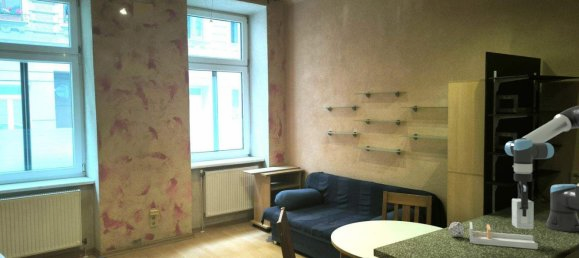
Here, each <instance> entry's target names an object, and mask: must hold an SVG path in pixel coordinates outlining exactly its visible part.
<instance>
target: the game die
mask: <svg viewBox="0 0 579 258" xmlns="http://www.w3.org/2000/svg"><path fill="white" fill-rule="evenodd" d="M449 222H450V224H449V227H448V228H447V229H446V231H448V232H449V234H451V238H452V239H453V238H456V237H458V238H459V237H461V238H462V239H463V238H464V236H463V235H464V233H465V231H466V230H467V229H468V228H467V227H464V225H463V224H462V221H461V220H459V221H452V220H450V221H449Z"/></svg>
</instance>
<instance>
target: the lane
mask: <svg viewBox="0 0 579 258" xmlns="http://www.w3.org/2000/svg"><path fill="white" fill-rule="evenodd" d="M473 227H474V226H473V221H469V243H470V244H477V245H487V246H499V247H511V248H522V249H531V250H532V249H533V250H538V249H539V247H538V246H539V245H538V242H535V241H534V235H530V234H518V233H517V234H516V233H503V232H502V233H501V232H492V231H491V239H487V231H478V230H477V231H476V230H473V229H474V228H473Z"/></svg>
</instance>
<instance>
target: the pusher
mask: <svg viewBox="0 0 579 258" xmlns="http://www.w3.org/2000/svg"><path fill="white" fill-rule="evenodd" d="M490 225H491V224H486V232H487V239H491V232H492V229H491V226H490Z"/></svg>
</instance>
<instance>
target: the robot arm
mask: <svg viewBox="0 0 579 258" xmlns="http://www.w3.org/2000/svg"><path fill="white" fill-rule="evenodd" d="M572 129H573V130H574V129H579V105H575V106H572V107H570V108H567V109H565V110H563V111H562V112H560V113H557V114H556V115H555V116H554V117H553V119H551V120H549V121H548V122H547V123H545V124H543V125H541V126H539V127H538V128H536V129H535V130H533V131H531V132H529V133H528V134H526V135H524V136H522V137H521V138H518V139H515V140H512V141H510V140H509V141H508V142H506V143H505V145H504V151H505V153H506V155H508V156H511V157H513V165H512V167H511V168H513V172H514V173H513V180H514V182H517V199H521V208H519V209H521V223H526V224H528V199H529V185H528V183H529V182H532V181H533V160H547V159H550V158H552V157H553V156H554V154H555V148H554V146H553V145H552V144H551V143H549V142H547V141H549V140H551V139H553V138H554V137H557V135H559V134H561V133H563V132H569V131H570V130H572ZM549 192H550V195H549V197H550V211H549V216H548V218H547V220H546V227H547V228H548V229H552V230H554V231H560V232H569V233H570V232H571V233H572V232H579V217H578V213H579V183H577V184H574V183H573V184H572V183H570V184H569V183H567V184H566V183H562V184H561V183H560V184H553V185H551V187H550V191H549Z"/></svg>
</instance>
